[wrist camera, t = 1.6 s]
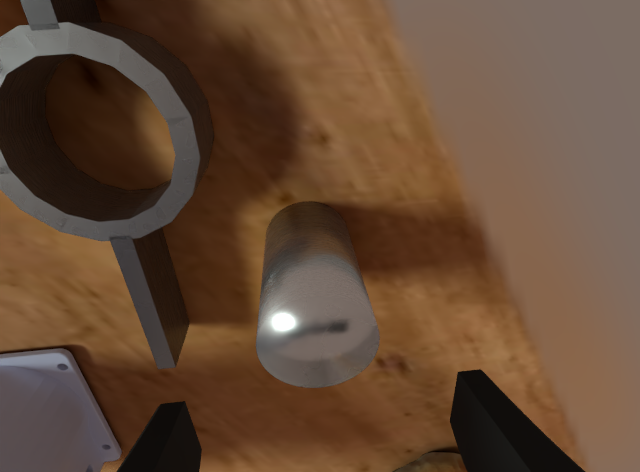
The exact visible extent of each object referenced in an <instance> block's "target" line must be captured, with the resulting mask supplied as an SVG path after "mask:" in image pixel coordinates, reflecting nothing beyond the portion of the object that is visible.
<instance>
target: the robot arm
mask: <svg viewBox="0 0 640 472" xmlns="http://www.w3.org/2000/svg"><path fill="white" fill-rule="evenodd" d="M450 423H451V426H452V430H453V433H454V436H455V439H456V442H457V445H458V448H459V451H460V454H461V457H462V460H463V463H464V465H465V468H466V470H467V472H585V471H584V470H583V469H582V468H580V467H579V466H578V465H577V464H576V463H575V462H574V461H573V460H572V459H571V458H569V457H568V456H567V455H566V454H565V453H564V452H563V451H562V450H561V449H560V448H559V447H558V446H557V445H556V444H555V443H554V442H552V441H551V440H550V439H549V438H548V437H547V436H546V435H545V434H544V433H543V432H542V431H541V430H540V429H539V428H538V427H537V426H536V425H535V424H534V423H533V422H532V421H531V420H530V419H529V418H528V417H527V416H526V415H525V414H524V413H523V412H522V411H521V410H520V409H519V408H518V407H517V406H516V405H515V404H514V403H513V402H512V401H511V400H510V399H509V398H508V397H507V396H506V395H505V394H504V393H503V392H502V391H501V390H500V389H499V388H498V387H497V386H496V385H495V383H494V382H493V381H492V380H491V379H490V378H489V377H488V376H487V375H486V374H485V373H484V372H483V371H482V370H471V371H462V372H458V375H457V381H456V387H455V393H454V399H453V405H452V411H451V417H450ZM201 451H202V449H201V446H200V443H199V440H198V437H197V434H196V432H195V429H194V426H193V423H192V420H191V417H190V414H189V412H188V409H187V406H186V403H185V401H183V402H174V403H165V404H161V405H160V406H159V407H158V408H157V410H156V411H155V413H154V414H153V416H152V418H151V419H150V421H149V422H148V424H147V426H146V427H145V429H144V430H143V432H142V434H141V435H140V437H139V438H138V440H137V441H136V443H135V445H134V446H133V448H132V449H131V451H130V452H129V454H128V455H127V457H126V458H125V460H124V461H123V463H122V464H121V466H120V467H119V469H118V470H117V472H199V469H200V460H201ZM121 453H122V451H121V449H120V447H119V445H118V443H117V441H116V439H115V437H114V435H113V433H112V431H111V429H110V427H109V425H108V423H107V421H106V419H105V418H104V416H103V414H102V412H101V410H100V408H99V406H98V404H97V402H96V400H95V398H94V396H93V394H92V392H91V390H90V388H89V387H88V385H87V383H86V381H85V379H84V377H83V375H82V373H81V371H80V369H79V367H78V365H77V363H76V361H75V359H74V357H73V356H72V354H71V353H70V351H68V350H66V349H61V348H58V349H48V350H38V351H28V352H18V353H9V354H0V472H100V471H101V469H102V466H103V464H104V462H108V461H115V460H118V459H119V458H120V456H121Z"/></svg>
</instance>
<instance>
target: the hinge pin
mask: <svg viewBox="0 0 640 472" xmlns="http://www.w3.org/2000/svg"><path fill="white" fill-rule="evenodd" d="M379 339H380V338H379V330H378V327H377V323H376V320H375V317H374V314H373V310H372V307H371V304H370V301H369V297H368V294H367V291H366V288H365V284H364V281H363V278H362V275H361V271H360V268H359V265H358V261H357V258H356V255H355V252H354V248H353V245H352V242H351V239H350V235H349V232H348V229H347V226H346V224H345V222H344V220H343V218H342V217H341V216H340V215H339V214H338V213H337V212H336V211H335V210H334V209H332V208H331V207H329V206H327V205H324V204H321V203H317V202H299V203H295V204H292V205H290V206H287V207H286V208H284V209H282V210H281V211H280V212H278V213H277V214H276V215H275V216H274V218H273V219H272V220H271V222H270V224H269V226H268V228H267V232H266V239H265V250H264V261H263V272H262V284H261V295H260V306H259V317H258V328H257V339H256V351H257V355H258V358H259V360H260V362H261V364H262V365H263V367H264V368H265V369H266V370H267V371H268V372H269V373H270V374H271V375H273V376H274V377H275V378H277V379H279V380H281V381H283V382H285V383H288V384H291V385H294V386H299V387H306V388H320V387H328V386H332V385H336V384H339V383H342V382H345V381H347V380H349V379H351V378H353V377H355V376H356V375H358V374H359V373H360V372H362V371H363V370H364V369H365V368H366V367H367V366H368V365H369V364H370V363H371V361H372V360H373V358H374V357H375V355H376V352H377V350H378V346H379Z"/></svg>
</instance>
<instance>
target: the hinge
mask: <svg viewBox="0 0 640 472" xmlns="http://www.w3.org/2000/svg"><path fill="white" fill-rule="evenodd" d="M20 1H21V4H22V7H23V9H24V12H25V15H26V17H27V20H28V23H29V25H20V26H17V27H15V28H14V29H12V30H11V31H9V32H7V33H6V34H4V35H3V36H1V37H0V189H1V190H2V191H3V192H4V193H5V194H6V195H7V196H8V197H9V198H10V199H11V200H12V201H13V202H14V203H15V204H16V205H17V206H18V207H19V208H20V209H21V210H22V211H24V212H26V213H28V214H30V215H31V216H33V217H35V218H37V219H38V220H40V221H42V222H44V223H46V224H47V225H49V226H51V227H53V228H55V229H56V230H58V231H60V232H64V233H68V234H72V235H77V236H81V237H85V238H90V239H94V240H98V241H110V242H111V244H112V247H113V250H114V252H115V255H116V258H117V260H118V263H119V266H120V268H121V271H122V274H123V276H124V279H125V282H126V284H127V287H128V290H129V292H130V295H131V298H132V300H133V303H134V306H135V308H136V311H137V314H138V316H139V319H140V322H141V324H142V327H143V330H144V332H145V335H146V338H147V340H148V343H149V346H150V349H151V351H152V354H153V357H154V359H155V362H156V365H157V367H158V369H164V368H174V367H176V365H177V362H178V359H179V356H180V352H181V349H182V346H183V343H184V340H185V337H186V333H187V330H188V327H189V324H190V323H189V319H188V316H187V312H186V309H185V306H184V302H183V299H182V295H181V292H180V289H179V285H178V282H177V278H176V275H175V271H174V268H173V265H172V261H171V258H170V254H169V251H168V248H167V244H166V241H165V237H164V234H163V231H162V227H163V226H165V225H166V224H168V223H170V222H172V221H173V219H174V218H175V217H176V216H177V214H178V213H179V212H180V210H181V209H182V208H183V207H184V205H185V204H186V203H187V201H188V200H189V199H190V198H191V196H192V195H193V193H194V191H195V190H196V188H197V186H198V184H199V182H200V180H201V178H202V177H203V175H204V173H205V171H206V169H207V167H208V162H209V158H210V153H211V149H212V144H213V139H214V132H213V127H212V122H211V117H210V112H209V106H208V101H207V99H206V97H205V96H204V94H203V92H202V91H201V89H200V88H199V86H198V84H197V83H196V81H195V79H194V78H193V76H192V74H191V73H190V71H189V70H188V68H187V66H185V64H184V63H183V62H181V61H180V60H179V59H178V58H176V57H175V56H174V55H173V54H172V53H170V52H169V51H168V50H167V49H165V48H164V47H163V46H162V45H161V44H159V43H158V42H157V41H156V40H154V39H153V38H152V37H150V36H147V35H144V34H141V33H138V32H135V31H132V30H130V29H127V28H124V27H121V26H118V25H115V24H113V23H101V20H100V16H99V13H98V9H97V6H96V3H95V0H20ZM75 54H77V55H80V56H83V57H86V58H89V59H92V60H95V61H98V62H101V63H104V64H107V65H110V66H113V67H114V68H116V69H117V70H118V71H120V72H121V73H122V74H124V75H125V76H126V77H128V78H129V79H130V80H132V81H133V82H134V83H135V84H137V85H138V86H139V87H141V88H142V89H143V90H145V91H146V92H147V94H148V95H149V97H150V98H151V100H152V101H153V103H154V104H155V105H156V107H157V108H158V110H159V111H160V113H161V114H162V116H163V117H164V119H165V120H166V122H167V123H168V127H169V131H170V135H171V139H172V143H173V147H174V151H175V155H176V156H175V162H174V168H173V173H172V179H171V180H169V181H167V182H165V183H164V184H162V185H160V186H158V187H156V188H154V189H144V190H132V191H127V190H123V189H119V188H115V187H112V186H108V185H104V184H101V183H99V182H97V181H96V180H94V179H93V178H91V177H90V176H88V175H86V174H85V173H83V172H82V171H80V170H78V169H77V168H76V167H75V166H74V165H73V164H72V163H71V162H70V160H69V159H68V158H67V157H66V156H65V155H64V153H63V152H62V151H61V150H60V149H59V148H58V146H57V145H56V144H55V141H54V138H53V136H52V133H51V131H50V128H49V126H48V123H47V121H46V118H45V88H46V87H47V85H48V83H49V81H50V79H51V77H52V76H53V74H54V72H55V70H56V68H57V66H58V65H59V64H60V63H62V62H64V61H65V60H67V59H69V58H70V57H72V56H74V55H75Z"/></svg>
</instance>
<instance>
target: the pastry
mask: <svg viewBox="0 0 640 472" xmlns="http://www.w3.org/2000/svg"><path fill="white" fill-rule="evenodd" d="M393 472H467V470H466V468H465V465H464V463H463V460H462V457H461V455H460V454H456V453H445V452H431V453H427V454H424V455H422V456H421V457H420V458H419V459H417V460H416V461H414V462H411V463H409V464H407V465H406V466H404V467H401V468H399V469H397V470H395V471H393Z"/></svg>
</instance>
